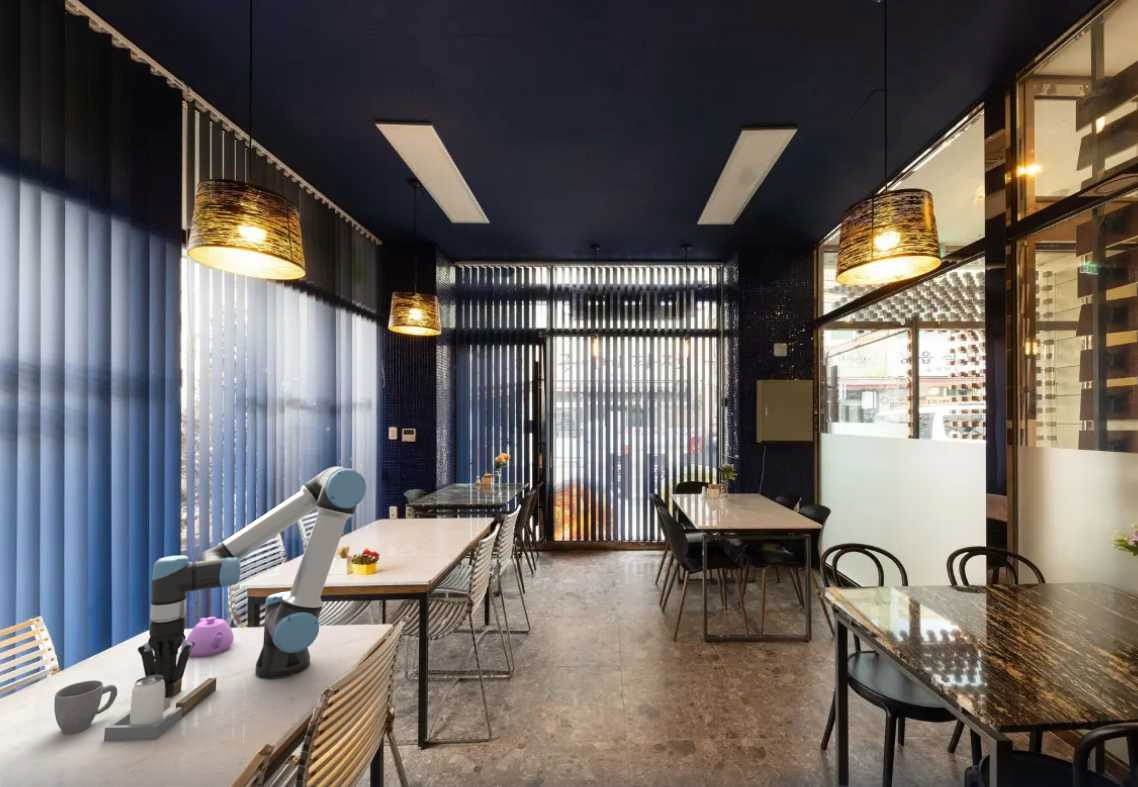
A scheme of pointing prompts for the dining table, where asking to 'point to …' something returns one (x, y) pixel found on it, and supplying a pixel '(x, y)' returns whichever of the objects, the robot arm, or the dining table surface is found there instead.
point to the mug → (80, 705)
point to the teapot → (210, 637)
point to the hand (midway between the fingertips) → (163, 709)
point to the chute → (194, 695)
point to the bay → (140, 728)
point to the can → (147, 700)
